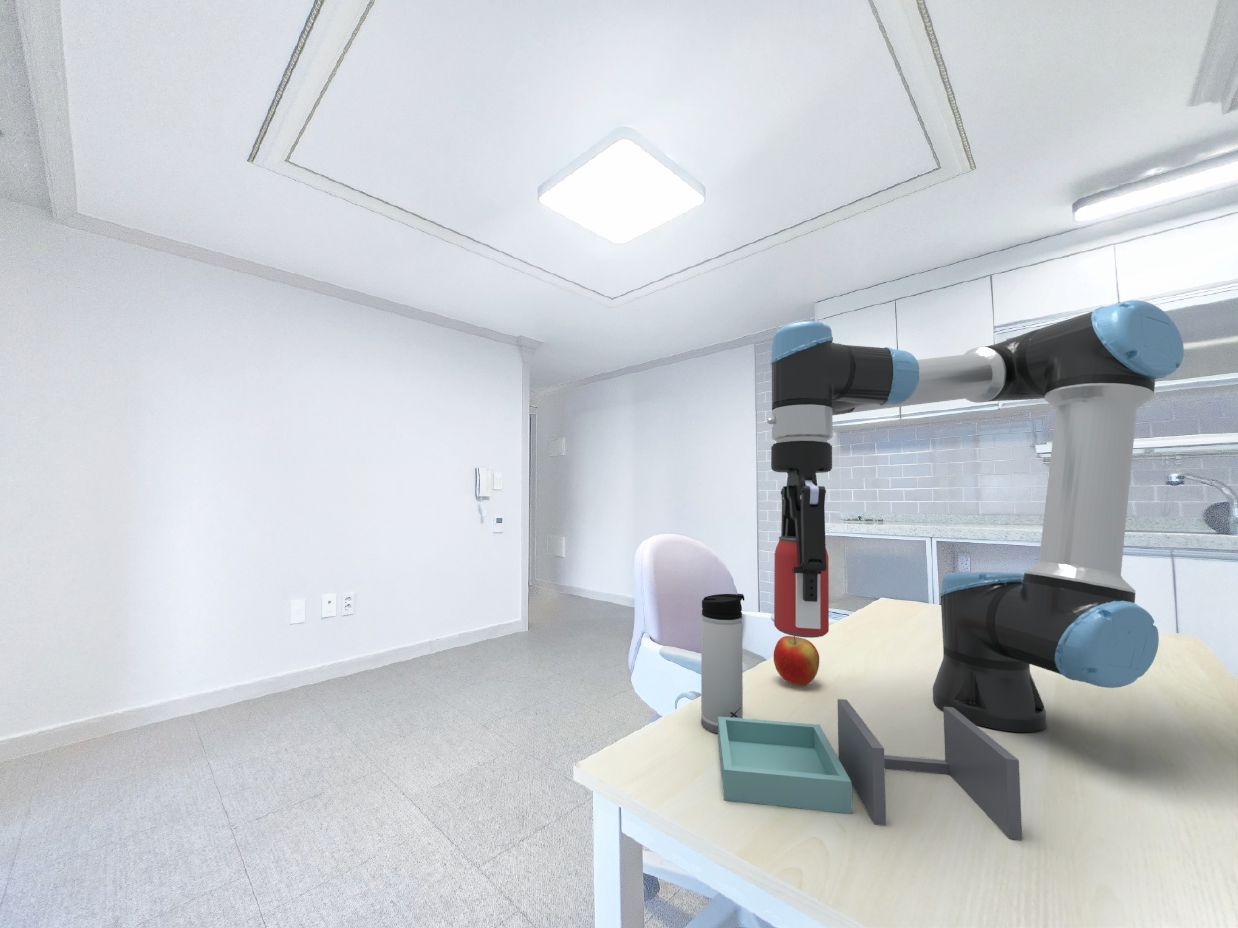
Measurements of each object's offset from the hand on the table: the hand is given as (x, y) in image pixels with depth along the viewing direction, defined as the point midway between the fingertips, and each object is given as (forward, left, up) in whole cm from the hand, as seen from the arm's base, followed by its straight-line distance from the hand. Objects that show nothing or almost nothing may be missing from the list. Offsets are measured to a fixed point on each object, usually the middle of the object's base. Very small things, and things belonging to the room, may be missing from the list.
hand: (800, 619), depth 62 cm
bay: (-13, +1, -19) cm, 23 cm away
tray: (+3, -1, -19) cm, 20 cm away
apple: (-6, -33, -20) cm, 39 cm away
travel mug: (+9, -13, -20) cm, 25 cm away
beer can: (0, 0, -2) cm, 2 cm away
